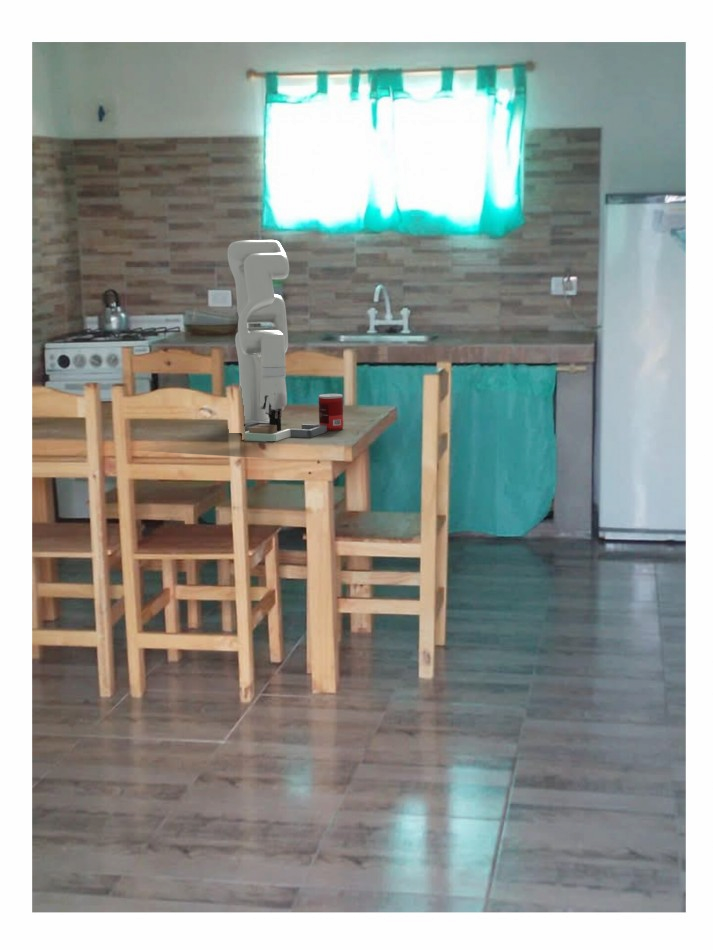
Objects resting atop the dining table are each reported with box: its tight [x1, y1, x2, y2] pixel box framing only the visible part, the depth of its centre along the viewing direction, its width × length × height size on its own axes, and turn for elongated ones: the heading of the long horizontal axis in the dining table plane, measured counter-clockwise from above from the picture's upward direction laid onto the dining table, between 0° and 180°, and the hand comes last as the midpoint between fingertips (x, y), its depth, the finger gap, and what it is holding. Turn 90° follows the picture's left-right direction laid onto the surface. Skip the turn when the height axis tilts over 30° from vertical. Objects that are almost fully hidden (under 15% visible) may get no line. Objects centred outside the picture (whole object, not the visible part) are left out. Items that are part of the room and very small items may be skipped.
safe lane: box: [245, 428, 292, 442], centre depth 385 cm, size 11×11×2 cm
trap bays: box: [244, 422, 328, 438], centre depth 395 cm, size 11×25×2 cm, turn 66°
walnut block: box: [249, 424, 278, 434], centre depth 387 cm, size 7×6×4 cm
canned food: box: [318, 393, 344, 432], centre depth 401 cm, size 8×8×11 cm
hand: (275, 430), depth 391 cm, fingers closed
